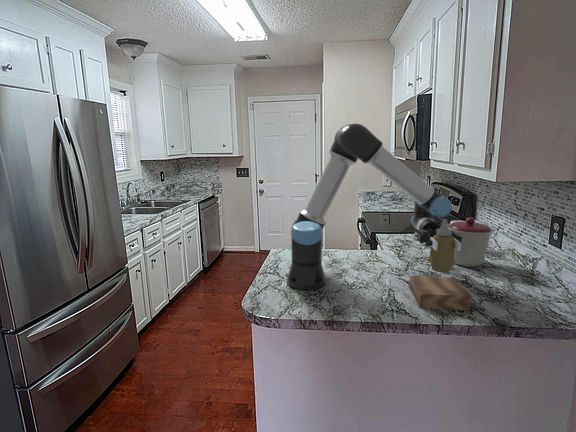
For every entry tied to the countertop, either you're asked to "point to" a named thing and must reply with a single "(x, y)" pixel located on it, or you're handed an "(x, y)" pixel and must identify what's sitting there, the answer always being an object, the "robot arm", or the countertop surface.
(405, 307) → the countertop surface
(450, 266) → the squeeze bottle
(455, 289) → the walnut plinth
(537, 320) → the countertop surface
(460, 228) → the canister
